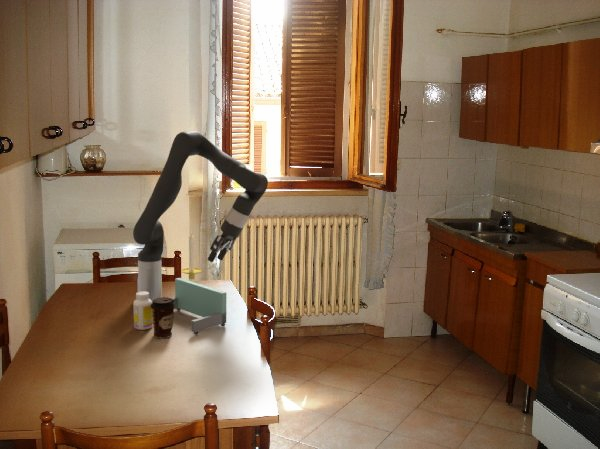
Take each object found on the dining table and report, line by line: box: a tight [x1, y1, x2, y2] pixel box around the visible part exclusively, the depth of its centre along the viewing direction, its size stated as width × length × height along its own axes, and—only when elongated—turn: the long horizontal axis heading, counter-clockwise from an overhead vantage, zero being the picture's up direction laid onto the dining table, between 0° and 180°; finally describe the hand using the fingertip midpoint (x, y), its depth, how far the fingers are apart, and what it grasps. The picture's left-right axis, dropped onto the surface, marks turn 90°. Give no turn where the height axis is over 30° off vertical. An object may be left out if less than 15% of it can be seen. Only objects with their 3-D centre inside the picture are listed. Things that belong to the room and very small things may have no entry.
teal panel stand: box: [171, 277, 227, 336], centre depth 253 cm, size 28×15×13 cm, turn 48°
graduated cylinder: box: [181, 231, 202, 283], centre depth 289 cm, size 10×10×27 cm
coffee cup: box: [150, 296, 175, 339], centre depth 239 cm, size 9×8×13 cm
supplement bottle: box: [132, 291, 153, 331], centre depth 247 cm, size 7×7×13 cm
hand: (214, 260), depth 252 cm, fingers open, 8 cm apart
